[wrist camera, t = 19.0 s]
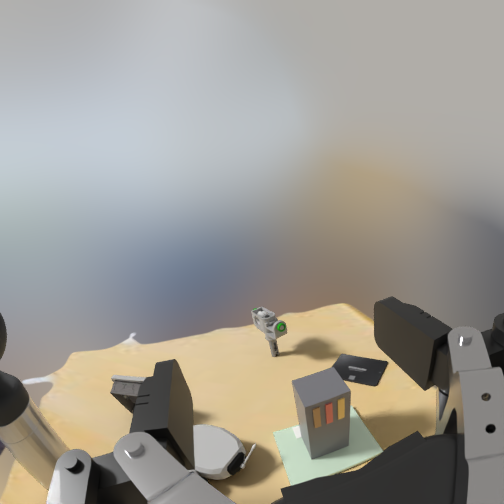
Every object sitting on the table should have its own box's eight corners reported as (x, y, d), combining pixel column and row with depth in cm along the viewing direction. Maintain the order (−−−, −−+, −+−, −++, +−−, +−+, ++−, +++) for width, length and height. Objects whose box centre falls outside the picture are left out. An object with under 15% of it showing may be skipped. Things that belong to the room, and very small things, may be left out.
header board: (292, 488, 27) (282, 453, 24) (273, 434, 37) (262, 393, 35) (383, 453, 28) (390, 411, 26) (351, 407, 39) (351, 364, 36)
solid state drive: (375, 388, 42) (376, 385, 42) (325, 377, 48) (325, 374, 48) (387, 363, 47) (388, 361, 47) (341, 356, 53) (341, 353, 53)
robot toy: (204, 528, 22) (264, 453, 34) (189, 519, 21) (257, 438, 32) (144, 486, 29) (202, 428, 41) (129, 473, 28) (192, 412, 39)
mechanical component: (283, 368, 54) (274, 326, 51) (257, 348, 62) (248, 310, 60) (295, 361, 55) (288, 320, 52) (268, 343, 64) (260, 304, 61)
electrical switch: (174, 404, 48) (155, 371, 45) (166, 424, 43) (144, 391, 40) (136, 401, 50) (115, 368, 46) (126, 418, 45) (103, 386, 42)
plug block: (311, 460, 30) (305, 408, 27) (301, 435, 35) (291, 380, 32) (349, 446, 31) (351, 391, 28) (335, 423, 36) (333, 366, 33)
